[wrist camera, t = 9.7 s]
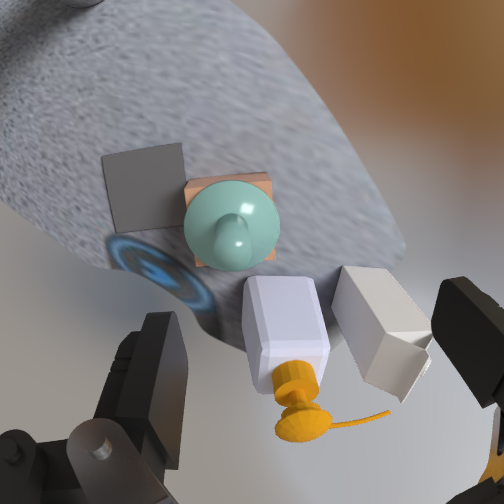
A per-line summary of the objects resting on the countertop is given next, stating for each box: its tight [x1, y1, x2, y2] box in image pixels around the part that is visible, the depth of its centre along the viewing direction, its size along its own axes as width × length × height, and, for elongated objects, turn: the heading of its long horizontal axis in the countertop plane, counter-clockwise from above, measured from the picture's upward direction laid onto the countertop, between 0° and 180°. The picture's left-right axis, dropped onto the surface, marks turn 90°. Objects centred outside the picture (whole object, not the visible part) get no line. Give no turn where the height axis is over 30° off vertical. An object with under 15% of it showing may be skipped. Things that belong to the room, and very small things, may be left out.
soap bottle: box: [241, 275, 391, 442], centre depth 34 cm, size 10×14×22 cm
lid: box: [184, 180, 280, 272], centre depth 31 cm, size 10×10×7 cm
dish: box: [184, 172, 276, 267], centre depth 36 cm, size 9×9×5 cm
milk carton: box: [331, 266, 433, 404], centre depth 36 cm, size 7×7×19 cm
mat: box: [102, 143, 187, 233], centre depth 36 cm, size 10×10×1 cm
